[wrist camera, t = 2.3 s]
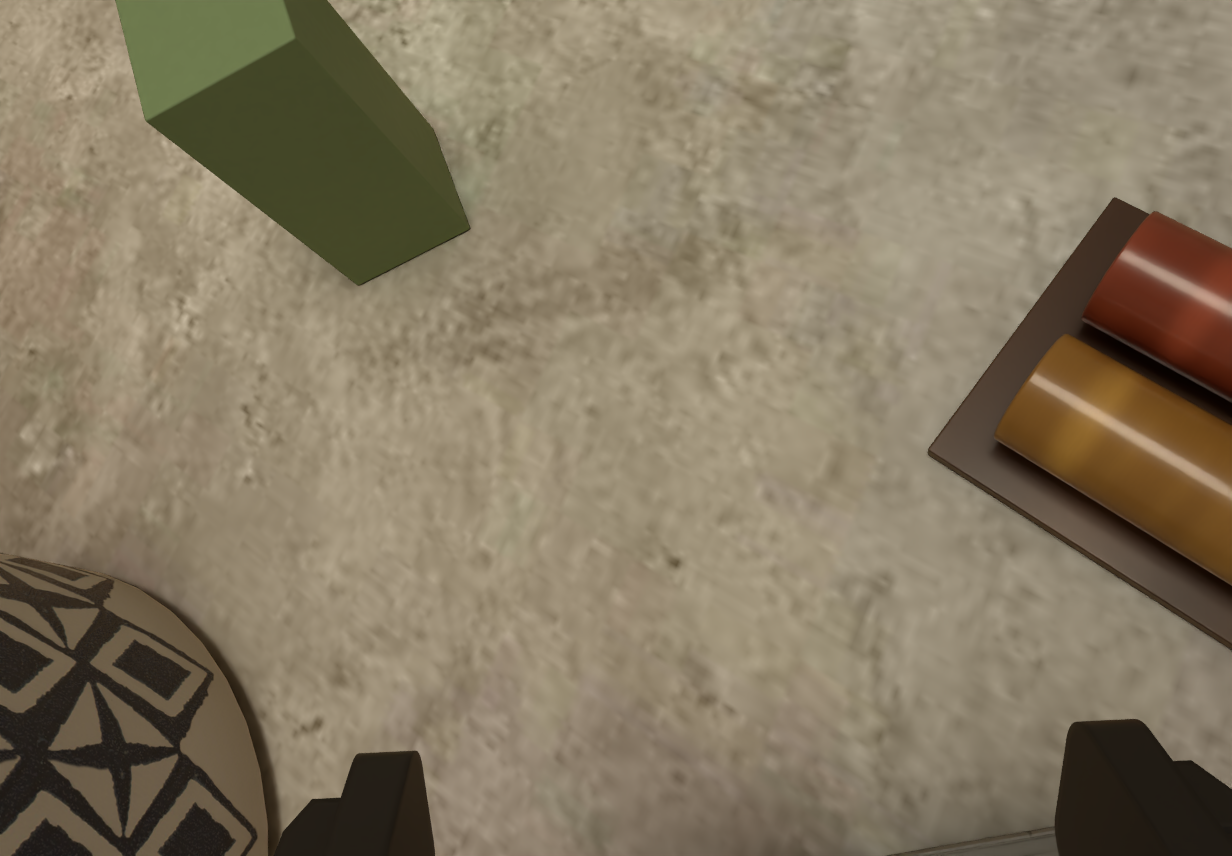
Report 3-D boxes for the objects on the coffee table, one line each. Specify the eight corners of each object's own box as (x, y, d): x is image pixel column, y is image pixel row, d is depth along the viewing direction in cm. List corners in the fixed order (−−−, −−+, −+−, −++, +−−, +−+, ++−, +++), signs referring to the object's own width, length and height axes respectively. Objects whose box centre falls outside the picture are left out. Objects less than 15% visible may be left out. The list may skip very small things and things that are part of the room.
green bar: (325, 185, 42) (112, -8, 31) (433, 128, 41) (254, -90, 30) (358, 286, 40) (144, 121, 29) (470, 229, 40) (295, 37, 29)
